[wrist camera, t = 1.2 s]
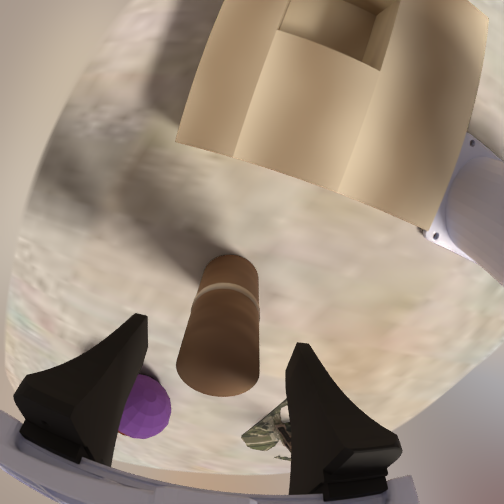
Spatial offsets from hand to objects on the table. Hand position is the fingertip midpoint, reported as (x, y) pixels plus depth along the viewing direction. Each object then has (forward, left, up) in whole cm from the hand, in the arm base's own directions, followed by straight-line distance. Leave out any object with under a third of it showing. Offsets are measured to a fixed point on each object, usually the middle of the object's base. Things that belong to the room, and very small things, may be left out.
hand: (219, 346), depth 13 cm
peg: (0, 0, -6) cm, 6 cm away
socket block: (-2, -15, -6) cm, 16 cm away
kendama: (+7, +20, -7) cm, 22 cm away
